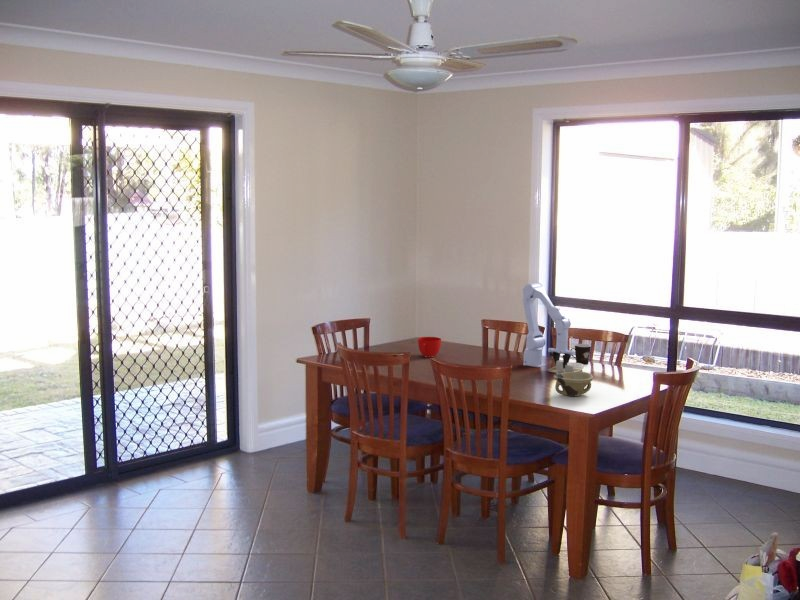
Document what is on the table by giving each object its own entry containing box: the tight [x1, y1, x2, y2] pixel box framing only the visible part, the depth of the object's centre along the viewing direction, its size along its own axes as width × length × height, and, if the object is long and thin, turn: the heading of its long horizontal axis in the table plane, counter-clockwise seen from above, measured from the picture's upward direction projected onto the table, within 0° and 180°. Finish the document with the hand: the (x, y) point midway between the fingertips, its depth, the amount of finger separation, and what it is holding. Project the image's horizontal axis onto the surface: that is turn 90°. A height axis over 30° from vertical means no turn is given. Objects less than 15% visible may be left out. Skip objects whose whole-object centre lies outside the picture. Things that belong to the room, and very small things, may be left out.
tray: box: [547, 365, 583, 374], centre depth 414 cm, size 14×11×2 cm
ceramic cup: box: [417, 336, 442, 358], centre depth 449 cm, size 13×17×10 cm
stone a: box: [555, 359, 565, 371], centre depth 417 cm, size 4×4×5 cm
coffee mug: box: [570, 343, 592, 366], centre depth 435 cm, size 12×9×10 cm
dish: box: [567, 362, 585, 370], centre depth 423 cm, size 9×9×2 cm
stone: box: [565, 365, 574, 372], centre depth 410 cm, size 4×3×4 cm
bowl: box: [553, 371, 594, 397], centre depth 369 cm, size 18×18×10 cm
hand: (561, 367), depth 417 cm, fingers open, 4 cm apart
